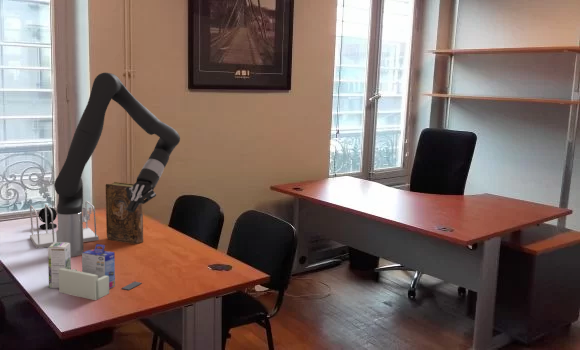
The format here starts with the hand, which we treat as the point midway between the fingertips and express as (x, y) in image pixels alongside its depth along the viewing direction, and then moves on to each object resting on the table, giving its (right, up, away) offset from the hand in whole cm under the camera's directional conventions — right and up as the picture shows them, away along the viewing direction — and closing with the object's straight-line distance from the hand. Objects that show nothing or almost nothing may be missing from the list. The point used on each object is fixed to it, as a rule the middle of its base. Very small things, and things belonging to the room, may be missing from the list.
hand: (130, 211), depth 202 cm
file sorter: (-40, -15, +40) cm, 59 cm away
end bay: (-10, -26, -18) cm, 33 cm away
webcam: (-55, -12, +58) cm, 81 cm away
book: (-14, -16, +42) cm, 47 cm away
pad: (+4, -25, -11) cm, 28 cm away
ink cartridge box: (-7, -25, -12) cm, 29 cm away
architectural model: (-38, -10, +73) cm, 83 cm away
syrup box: (-20, -25, -12) cm, 34 cm away
